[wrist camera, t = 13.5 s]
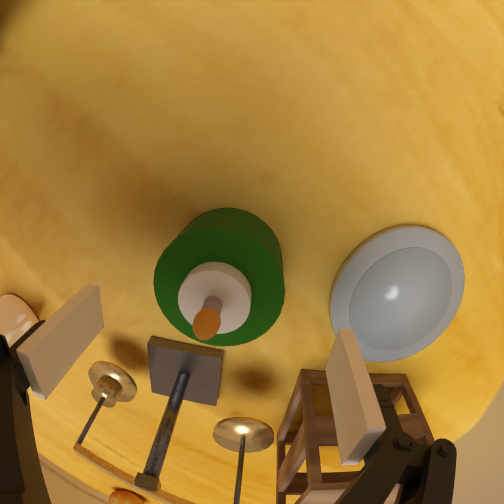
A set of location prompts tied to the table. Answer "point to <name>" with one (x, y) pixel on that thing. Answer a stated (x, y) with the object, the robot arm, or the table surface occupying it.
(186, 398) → the balance
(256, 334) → the candle
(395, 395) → the crate
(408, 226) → the dish
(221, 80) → the table surface
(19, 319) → the mug
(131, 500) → the brown onion
